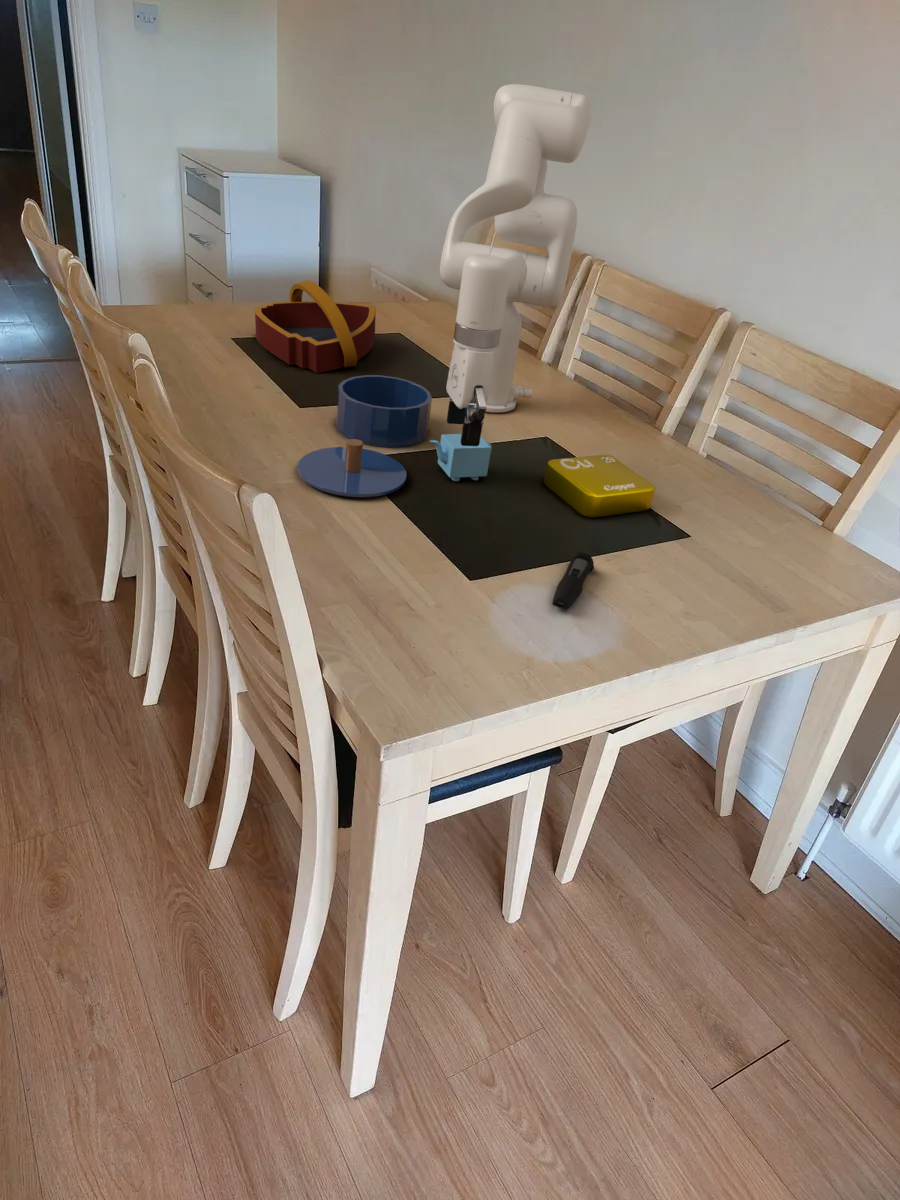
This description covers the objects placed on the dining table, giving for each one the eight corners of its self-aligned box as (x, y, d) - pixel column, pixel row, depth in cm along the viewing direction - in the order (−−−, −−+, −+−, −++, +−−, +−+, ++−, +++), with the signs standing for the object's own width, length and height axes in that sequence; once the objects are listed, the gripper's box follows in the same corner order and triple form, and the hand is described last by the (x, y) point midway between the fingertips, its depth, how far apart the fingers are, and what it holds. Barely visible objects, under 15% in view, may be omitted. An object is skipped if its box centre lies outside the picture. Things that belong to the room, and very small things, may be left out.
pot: (402, 408, 179) (405, 373, 175) (443, 443, 167) (448, 406, 163) (322, 414, 171) (324, 377, 167) (359, 451, 158) (362, 412, 154)
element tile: (585, 519, 147) (592, 494, 144) (539, 481, 158) (544, 457, 155) (654, 510, 154) (661, 486, 151) (605, 474, 164) (610, 450, 162)
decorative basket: (242, 334, 212) (233, 271, 203) (354, 317, 222) (350, 256, 213) (280, 386, 188) (272, 318, 179) (405, 364, 198) (402, 298, 188)
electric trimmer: (543, 612, 122) (547, 593, 120) (570, 562, 134) (575, 545, 132) (569, 620, 121) (573, 601, 119) (594, 569, 133) (599, 552, 131)
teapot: (431, 483, 151) (436, 443, 147) (419, 468, 156) (424, 429, 152) (493, 480, 156) (500, 441, 151) (480, 465, 160) (486, 427, 156)
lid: (378, 448, 160) (381, 417, 157) (424, 493, 148) (428, 460, 144) (281, 458, 152) (282, 424, 148) (322, 506, 139) (324, 471, 135)
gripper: (442, 319, 148) (430, 414, 157) (468, 351, 134) (453, 453, 143) (484, 322, 150) (469, 416, 159) (514, 353, 136) (496, 455, 145)
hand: (462, 434), depth 151 cm, fingers open, 9 cm apart
